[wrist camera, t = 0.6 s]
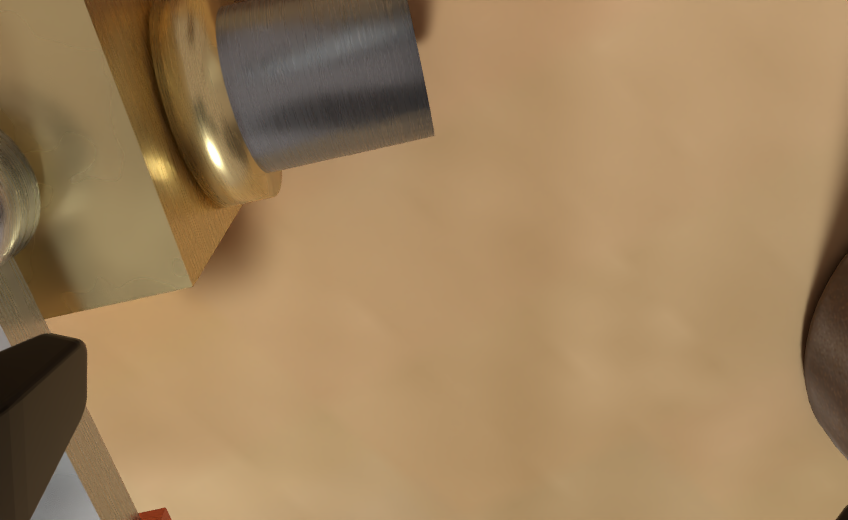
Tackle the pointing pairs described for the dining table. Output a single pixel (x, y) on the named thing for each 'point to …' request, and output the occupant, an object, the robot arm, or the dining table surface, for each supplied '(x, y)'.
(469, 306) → the dining table surface
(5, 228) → the valve lever
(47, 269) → the valve body
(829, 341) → the plant pot
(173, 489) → the dining table surface
